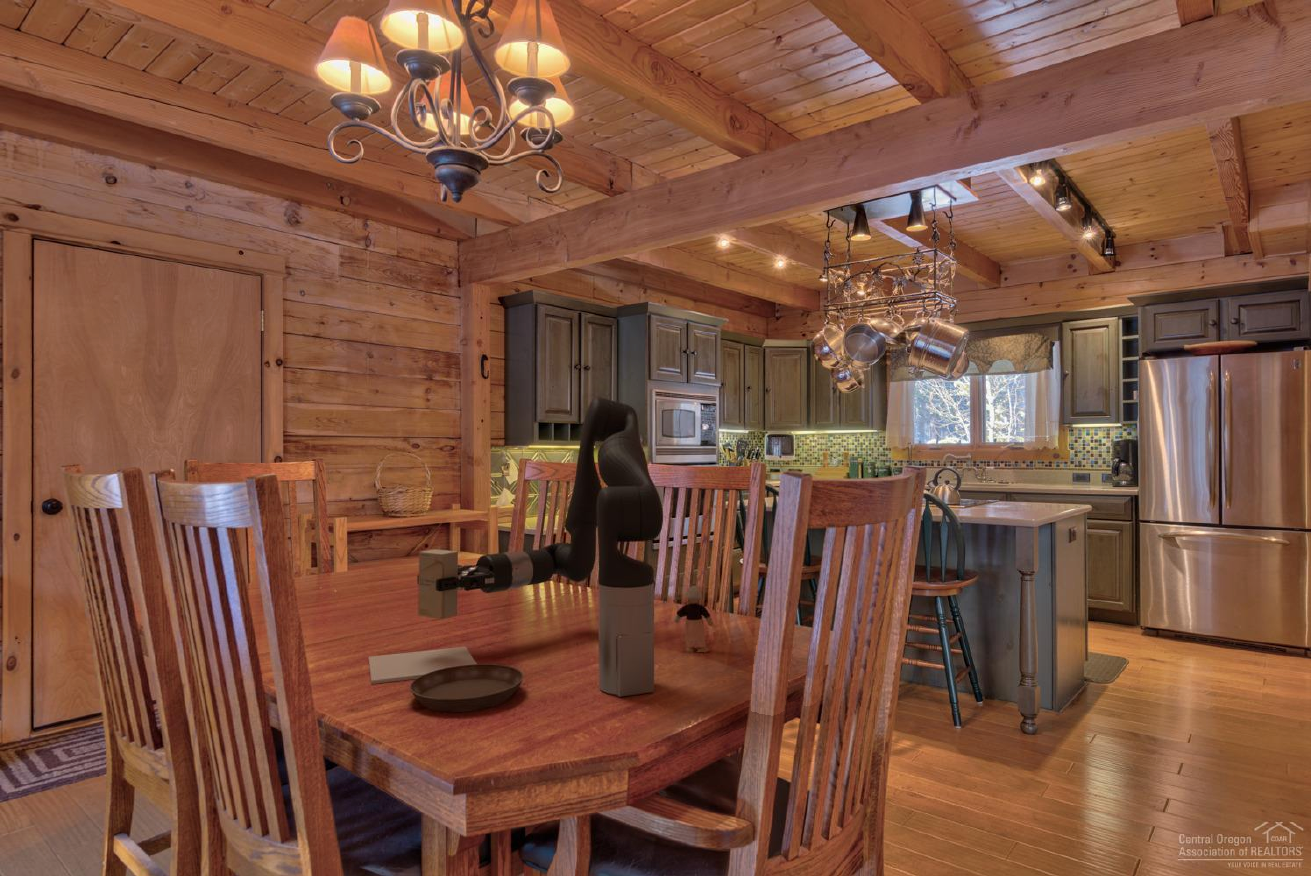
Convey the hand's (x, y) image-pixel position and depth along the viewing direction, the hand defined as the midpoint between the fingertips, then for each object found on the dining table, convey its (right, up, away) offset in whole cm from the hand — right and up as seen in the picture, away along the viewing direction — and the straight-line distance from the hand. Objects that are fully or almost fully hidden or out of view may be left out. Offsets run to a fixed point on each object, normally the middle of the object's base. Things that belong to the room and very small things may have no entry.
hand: (427, 582), depth 140 cm
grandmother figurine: (+50, -15, +7) cm, 53 cm away
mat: (0, -15, -2) cm, 15 cm away
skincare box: (+2, -7, +1) cm, 7 cm away
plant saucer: (+12, -15, -19) cm, 28 cm away
